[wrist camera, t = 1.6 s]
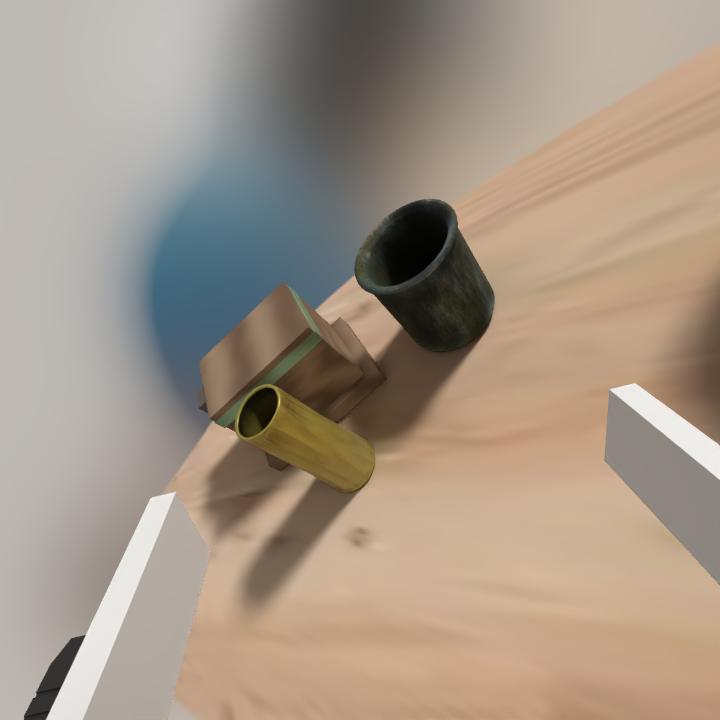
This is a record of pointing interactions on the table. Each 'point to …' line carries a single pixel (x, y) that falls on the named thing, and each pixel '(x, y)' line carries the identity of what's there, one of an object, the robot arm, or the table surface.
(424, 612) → the table surface
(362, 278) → the mug
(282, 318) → the stand
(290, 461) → the vase
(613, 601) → the table surface
